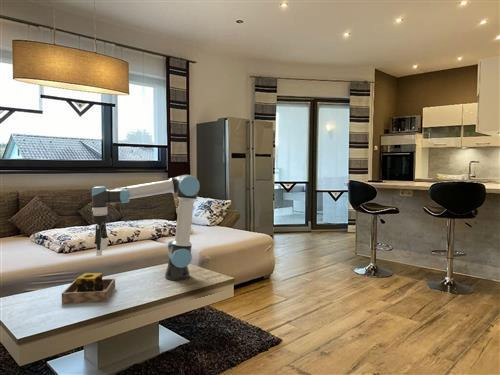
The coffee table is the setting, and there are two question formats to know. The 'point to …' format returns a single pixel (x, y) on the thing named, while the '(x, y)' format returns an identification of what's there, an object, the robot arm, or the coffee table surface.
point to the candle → (89, 282)
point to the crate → (88, 293)
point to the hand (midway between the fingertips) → (102, 252)
